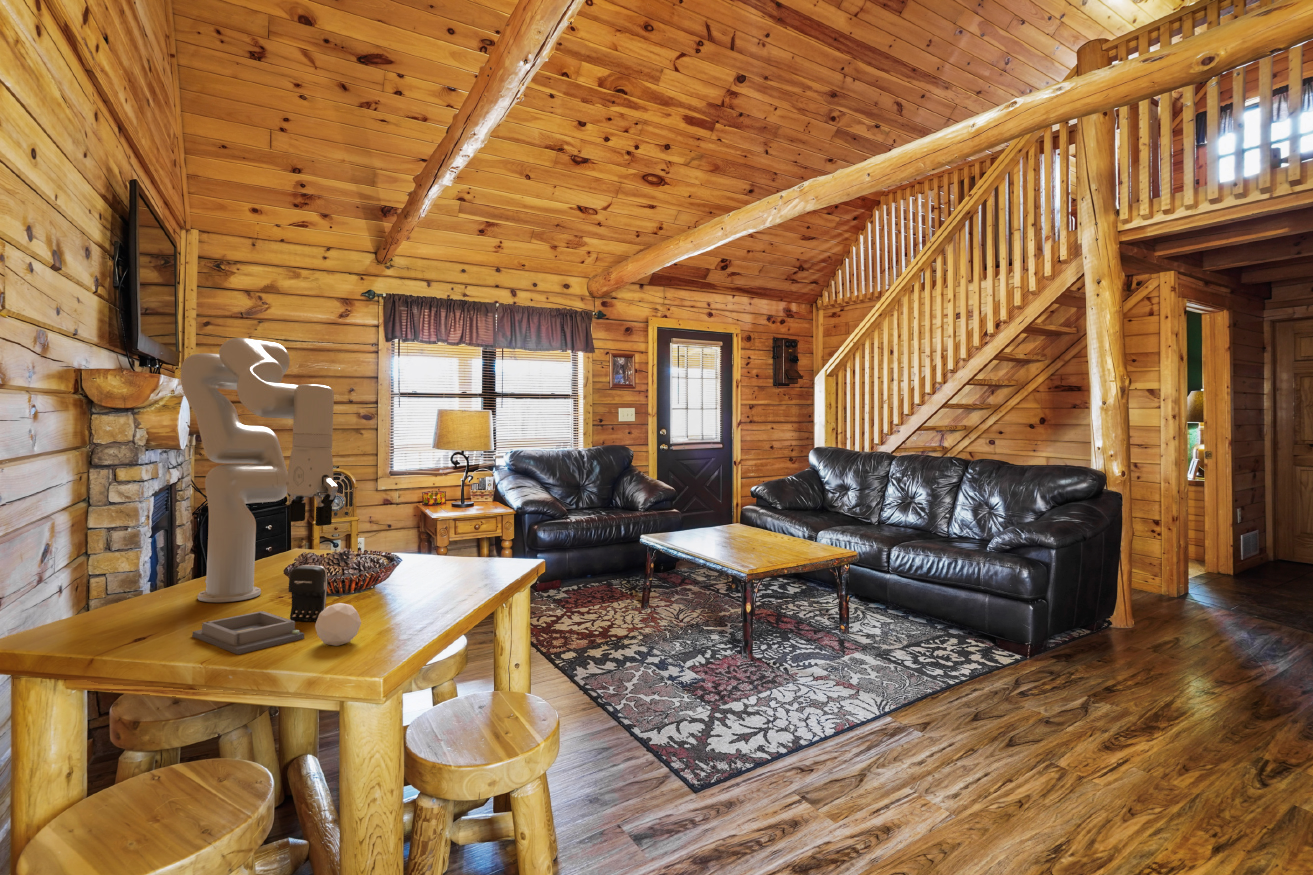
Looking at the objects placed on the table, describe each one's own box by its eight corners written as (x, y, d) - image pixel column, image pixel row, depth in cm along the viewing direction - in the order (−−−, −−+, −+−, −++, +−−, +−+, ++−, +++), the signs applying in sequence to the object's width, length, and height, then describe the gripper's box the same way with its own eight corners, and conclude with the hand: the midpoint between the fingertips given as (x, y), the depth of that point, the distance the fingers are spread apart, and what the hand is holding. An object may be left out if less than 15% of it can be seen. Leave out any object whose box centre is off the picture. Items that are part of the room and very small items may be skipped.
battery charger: (284, 622, 136) (286, 567, 136) (294, 617, 140) (296, 564, 140) (318, 623, 136) (320, 568, 136) (326, 618, 140) (329, 565, 140)
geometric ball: (341, 660, 122) (340, 634, 118) (306, 642, 124) (304, 615, 119) (370, 631, 128) (369, 605, 124) (336, 614, 130) (335, 588, 125)
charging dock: (192, 636, 125) (193, 620, 125) (257, 622, 135) (258, 608, 135) (237, 654, 116) (238, 637, 116) (304, 638, 126) (304, 622, 126)
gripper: (272, 441, 140) (269, 521, 139) (319, 443, 130) (316, 528, 130) (307, 442, 146) (304, 518, 146) (353, 444, 137) (350, 525, 137)
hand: (310, 523), depth 138 cm, fingers open, 9 cm apart
